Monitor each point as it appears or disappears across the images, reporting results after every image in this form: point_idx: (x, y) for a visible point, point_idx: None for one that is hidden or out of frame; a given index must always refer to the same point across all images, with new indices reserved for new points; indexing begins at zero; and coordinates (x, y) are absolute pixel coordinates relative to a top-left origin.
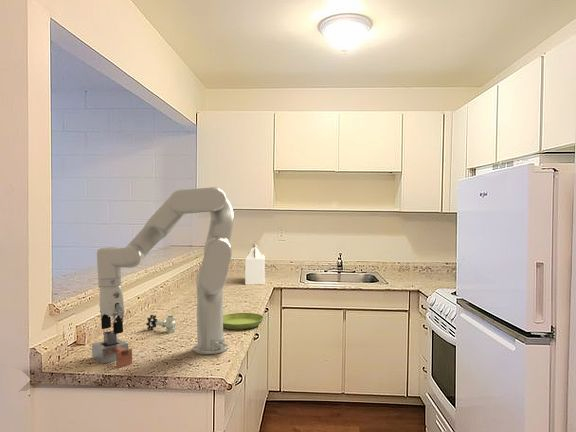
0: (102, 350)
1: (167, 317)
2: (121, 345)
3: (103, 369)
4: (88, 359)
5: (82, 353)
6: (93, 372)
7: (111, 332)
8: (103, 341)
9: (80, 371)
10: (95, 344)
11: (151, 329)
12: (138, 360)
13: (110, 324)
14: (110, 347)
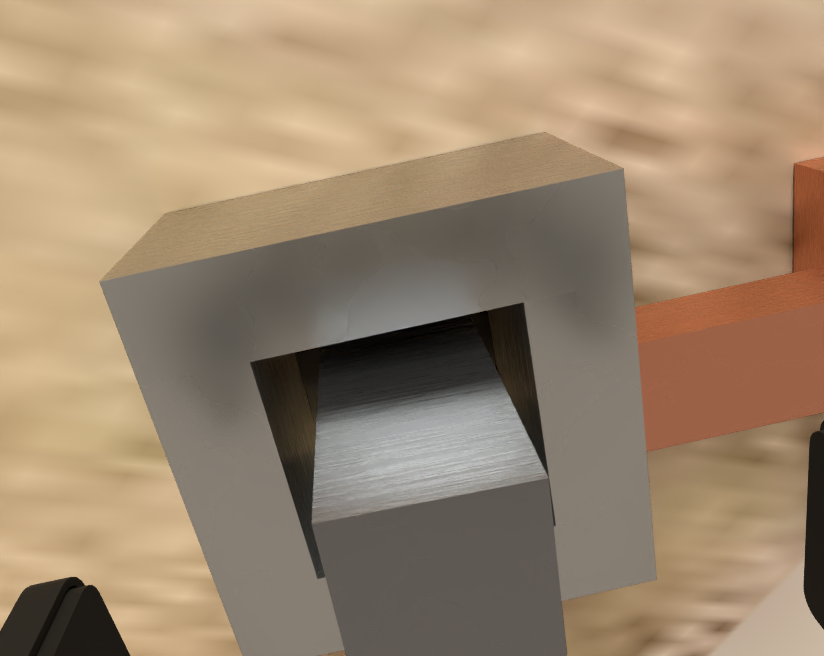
0: (643, 569)
1: None
2: (629, 297)
3: (758, 472)
4: None
5: (14, 598)
6: (768, 560)
7: (469, 570)
8: (208, 521)
9: (650, 650)
10: (325, 636)
11: None
12: (765, 33)
13: (64, 650)
14: (643, 476)
